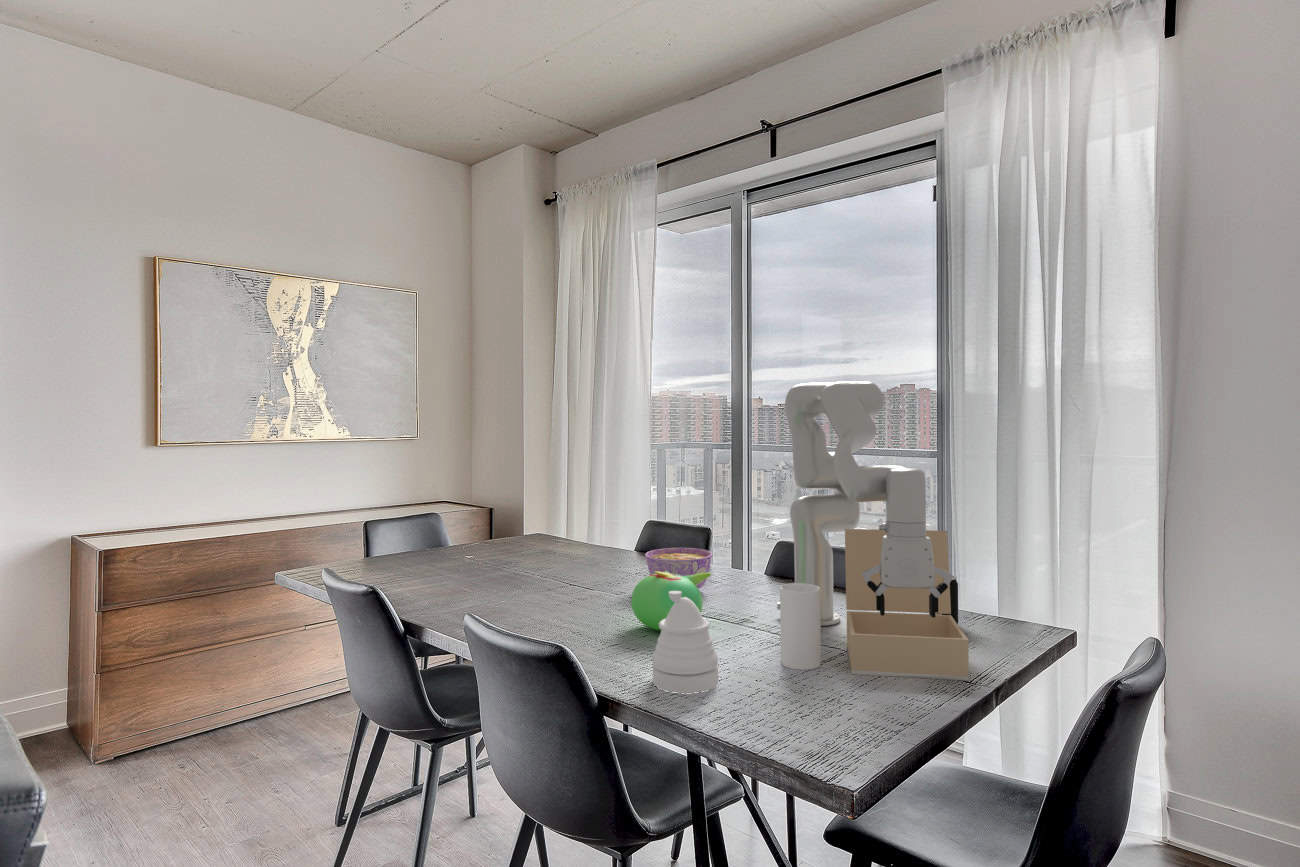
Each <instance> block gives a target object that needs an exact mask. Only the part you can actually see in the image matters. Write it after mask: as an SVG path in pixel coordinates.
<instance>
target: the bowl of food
mask: <svg viewBox="0 0 1300 867" xmlns="http://www.w3.org/2000/svg"><path fill="white" fill-rule="evenodd" d="M644 556H645V560H646V564H647V569H648V573H649V575H653V574H656V573H655V571H659V572H665V571H667V572H669V573H673V574H679V575H681V576H689V575H694V574H700V573H710V572H709V571H710V567H711V563H712V557H713V553H712V552H711V551H709V550H707V549H703V548H702V549H701V548H694V547H667V548H659V549H653V550H652V549H651V550H649V551H647V552H645V553H644ZM707 580H708V578H706V579H704V580H703V581H701V582H699V583H698V584H696V586H697V587H698V589H699V590H700V589H701V588H702V587H703V586H705V584H706V581H707Z"/></svg>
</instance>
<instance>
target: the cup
mask: <svg viewBox="0 0 1300 867" xmlns="http://www.w3.org/2000/svg"><path fill="white" fill-rule="evenodd" d="M779 602H780V610H779V611H780V614H779V616H780V617H779V618H780V664H781V665H783V666H784V667H786V668H788V669H791V670H792V669H794V670H798V671H799V670H801V671H809V670H810V671H811V670H814V669H817V668H819V667H821V665H822V662H821V661H822V660H821V659H822V655H821V654H822V652H821V651H822V649H821V626H820V587H818V586H816V585H812V584H805V583H795V582H792V583H791V582H790V583H785V584H781V585H780V588H779Z"/></svg>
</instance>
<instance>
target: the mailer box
mask: <svg viewBox="0 0 1300 867" xmlns="http://www.w3.org/2000/svg"><path fill="white" fill-rule="evenodd" d="M846 648H847V654H848V656H847V657H848V662H849V667H850V668H849V669H850V673H851V675H863V676H875V677H876V676H878V677H895V678H897V677H898V678H911V679H912V678H913V679H914V678H916V679H931V680H932V679H933V680H946V681H948V680H950V681H951V680H952V681H963V682H964V681H965V682H967V681H968V682H970V681H969V680H970V679H969V678H970V676H969V673H970V671H969V670H970V669H969V665H970V664H969V654H970V653H969V638H968V637H967V635H966V634H965V633H964V632H963V630H962V629H961V627H960V626H959V623H958V624H957V623H956V622H955V620H954V619H953V617H952V616H951V615H935V618H933V617H931V615H930V614H929V613H908V612H885V615H884V616H881V614H880V611H857V610H846Z"/></svg>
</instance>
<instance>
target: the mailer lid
mask: <svg viewBox="0 0 1300 867" xmlns="http://www.w3.org/2000/svg"><path fill="white" fill-rule="evenodd" d="M885 535H887V533H886V532H885V531H879V529H872V528H871V529H868V528H867V529H866V528H865V529H864V528H863V529H861V528H860V529H858V528H856V529H855V528H854V529H845V531H844V550H845V551H844V552H845V554H844V555H845V556H844V557H845V558H844V559H845V604H846V609H845V610H846V611H864V612H880V610H877V609H876V594H875V593H874V592H873V591H872V590H871V589H870V588H869V587H868V585H867V583H866V581H865V580H864V578H863V576H862V572H863V571H865V570H867V569H869V568H871V567H873V566H875V565H878V564H880V556H881V547H882V540H883V536H885ZM926 536H927V537H929V538H930V539H931V543H932V549H933V558H934V566H936V567H938V568H940V569H942V570H944V571H946V572H948V573H950V564H949V561H950V560H949V546H948V545H949V543H948V531H947V530H933V529H932V530H931V529H930V530H929V529H928V530H927V529H926ZM870 578H871V580H872V581H873V582H874V583H875V584H876V585H878V584H879V583H880V582H881V579H880V572H878V573H876V574H874V575H872V576H871V577H870ZM942 580H943V577H942V576H940V575H938V574H936V573H935V584H934V587H935V588H936V587H937V586H938V585H939V584H940V583H941V582H942ZM930 594H931V592H930V591H929V589H911V588H890V587H888V588H887V589H886V590H885V591H884V592H883V595H884V599H885V612H889V613H915V614H929V595H930ZM935 613H942V614H951V603H950V584H949V585H948V588H947V589H946V590H945V591H944V592H943V593H942V594H941V595H940V597H938V612H935Z"/></svg>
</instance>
